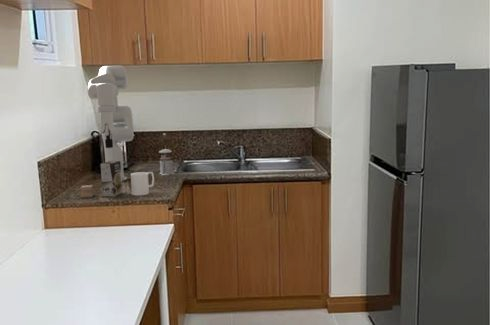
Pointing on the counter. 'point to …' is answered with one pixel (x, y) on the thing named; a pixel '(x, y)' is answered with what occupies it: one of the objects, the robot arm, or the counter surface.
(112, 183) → the coffee box
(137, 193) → the cup
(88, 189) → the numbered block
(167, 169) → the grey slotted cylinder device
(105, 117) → the robot arm
